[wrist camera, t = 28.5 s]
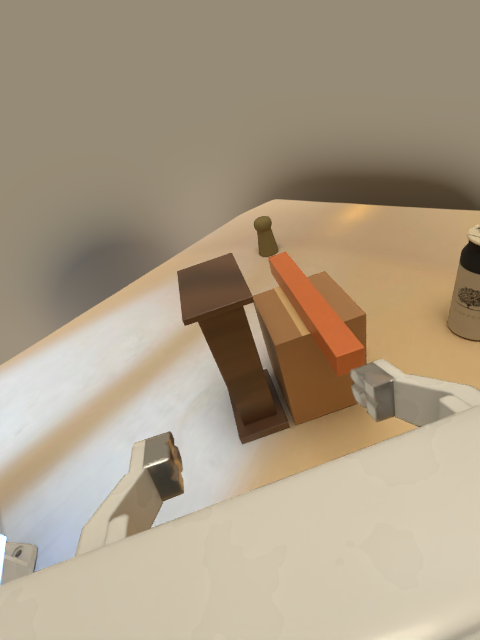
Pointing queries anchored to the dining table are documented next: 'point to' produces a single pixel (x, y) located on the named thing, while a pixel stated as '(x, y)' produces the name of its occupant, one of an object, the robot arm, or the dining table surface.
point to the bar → (318, 316)
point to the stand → (232, 342)
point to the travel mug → (467, 290)
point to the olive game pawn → (265, 236)
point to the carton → (307, 350)
